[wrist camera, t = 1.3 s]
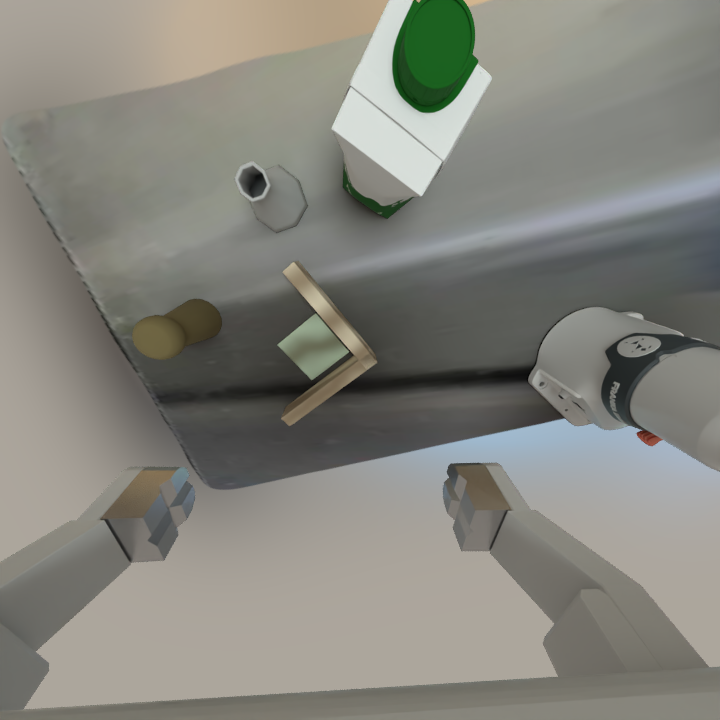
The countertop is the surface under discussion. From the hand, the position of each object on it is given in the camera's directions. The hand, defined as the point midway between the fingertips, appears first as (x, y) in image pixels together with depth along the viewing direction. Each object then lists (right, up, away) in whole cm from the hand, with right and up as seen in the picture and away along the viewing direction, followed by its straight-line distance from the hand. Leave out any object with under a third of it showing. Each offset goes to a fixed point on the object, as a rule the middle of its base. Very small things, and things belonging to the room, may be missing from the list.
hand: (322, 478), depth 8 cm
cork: (-23, +10, +31) cm, 40 cm away
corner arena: (-9, +6, +33) cm, 35 cm away
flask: (-9, +25, +26) cm, 37 cm away
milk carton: (+4, +27, +26) cm, 38 cm away
